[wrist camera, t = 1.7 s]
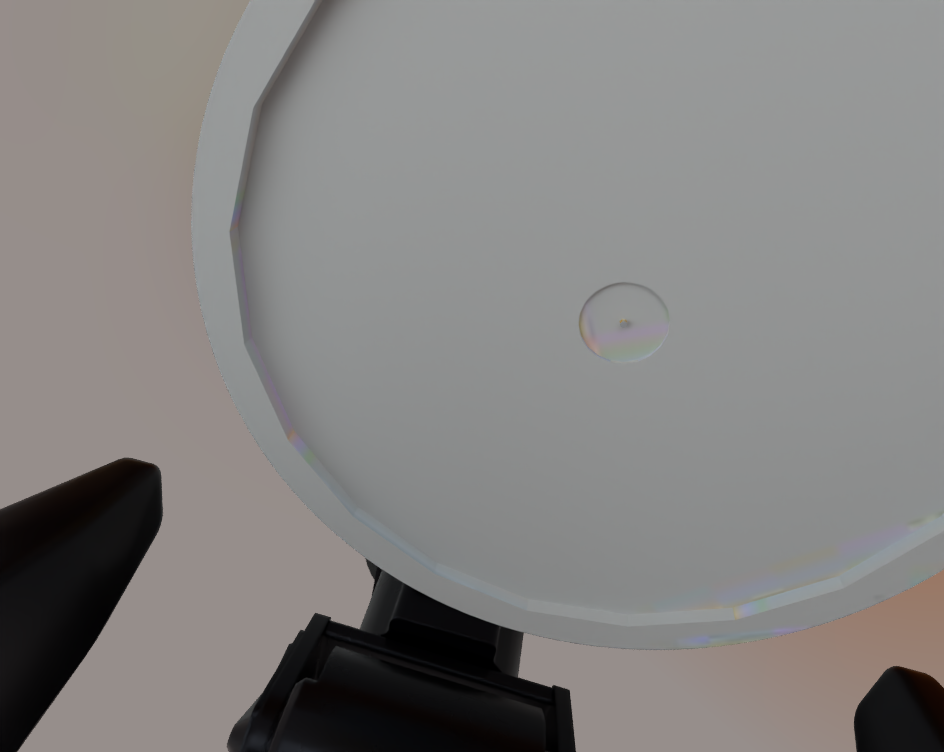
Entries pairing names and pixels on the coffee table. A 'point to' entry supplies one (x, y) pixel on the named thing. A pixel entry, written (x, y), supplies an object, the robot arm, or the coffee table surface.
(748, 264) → the bottle
